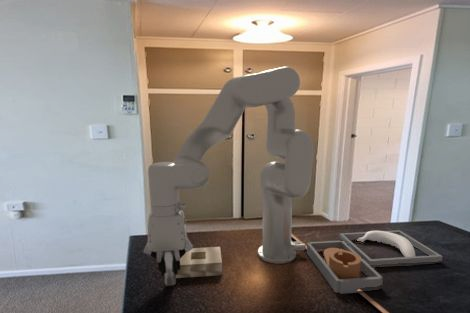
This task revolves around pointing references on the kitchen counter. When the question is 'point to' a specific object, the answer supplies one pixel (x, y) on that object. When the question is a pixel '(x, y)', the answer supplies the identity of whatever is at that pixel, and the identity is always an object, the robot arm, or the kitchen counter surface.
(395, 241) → the banana
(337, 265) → the bracket
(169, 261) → the steel peg
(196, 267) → the hole block
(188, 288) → the kitchen counter surface
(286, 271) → the kitchen counter surface
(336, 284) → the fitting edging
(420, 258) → the banana edging
